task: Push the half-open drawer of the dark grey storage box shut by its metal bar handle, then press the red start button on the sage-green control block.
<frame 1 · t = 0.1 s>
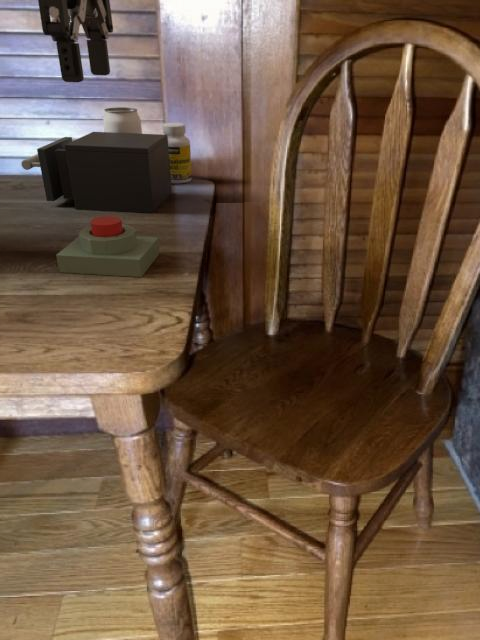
hand: (87, 78, 66), 20 cm above the table, tool pointing down, fingers open, 8 cm apart
supplement bottle: (177, 181, 107), on the table
can: (128, 180, 106), on the table
start button: (106, 227, 68), point 4 cm above the table, slide at 0.1 cm
drawer: (78, 169, 92), point 5 cm above the table, slide at 3.5 cm
dark grey storage box: (125, 201, 94), on the table
control block: (111, 262, 71), on the table
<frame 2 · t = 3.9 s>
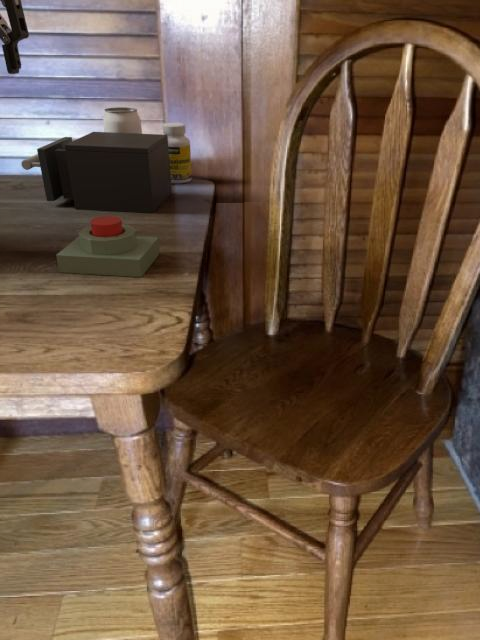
nothing on the table moved.
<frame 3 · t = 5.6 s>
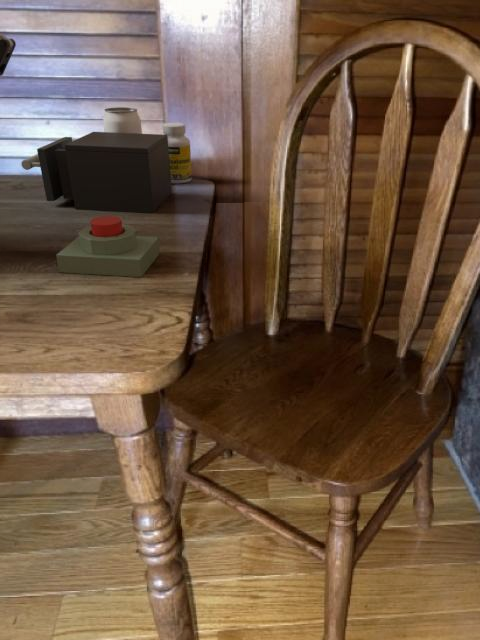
nothing on the table moved.
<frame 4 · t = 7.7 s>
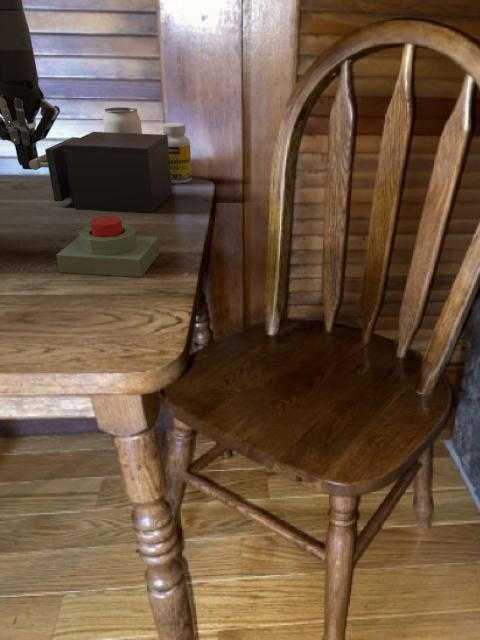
hand: (29, 168, 93), 5 cm above the table, tool pointing down, fingers closed
drawer: (85, 169, 92), point 5 cm above the table, slide at 2.2 cm, touching gripper
everything else where it was.
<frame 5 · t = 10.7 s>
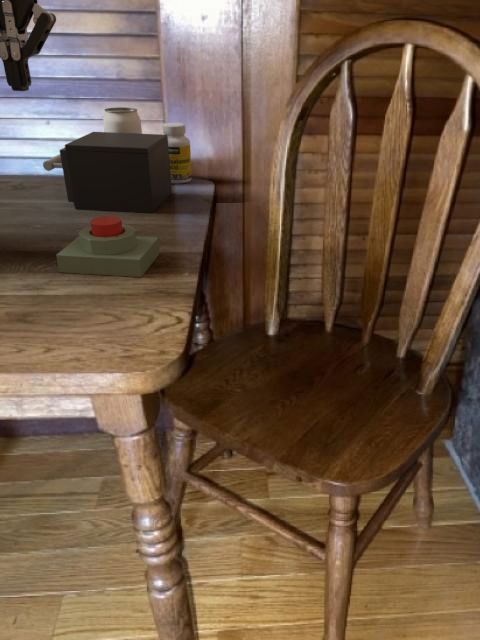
hand: (20, 90, 80), 17 cm above the table, tool pointing down, fingers closed
drawer: (99, 170, 92), point 5 cm above the table, slide at 0.0 cm
everything else where it was.
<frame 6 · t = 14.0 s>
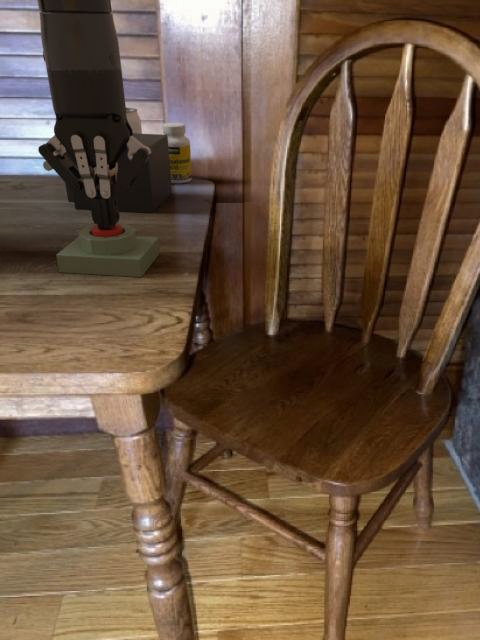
hand: (107, 227, 68), 5 cm above the table, tool pointing down, fingers closed
start button: (107, 234, 69), point 4 cm above the table, slide at -0.7 cm, touching gripper
everything else where it was.
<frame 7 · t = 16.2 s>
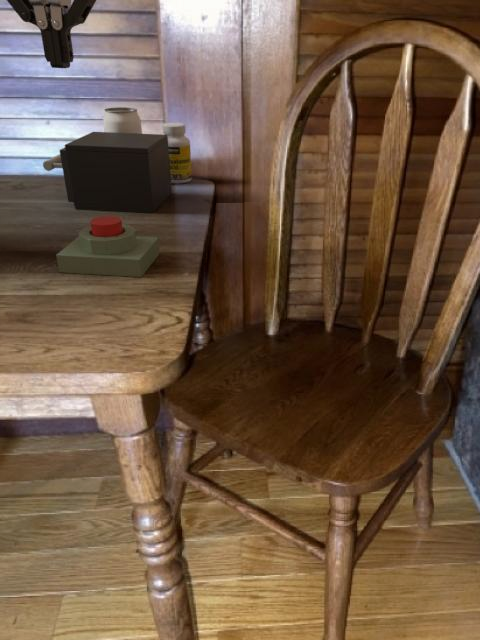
hand: (60, 67, 66), 21 cm above the table, tool pointing down, fingers closed
start button: (106, 227, 68), point 4 cm above the table, slide at 0.1 cm
everything else where it was.
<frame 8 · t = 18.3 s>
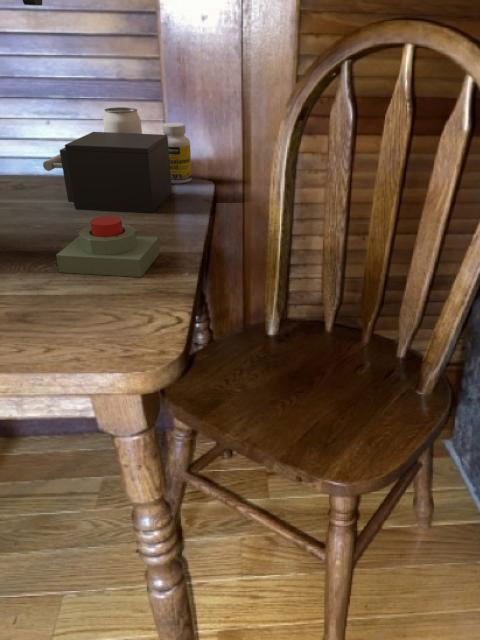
hand: (33, 4, 69), 27 cm above the table, tool pointing down, fingers closed
nothing on the table moved.
at the end: drawer slide at 0.0 cm; start button pushed in 0.9 cm at the most during the clip, back to where it started at the end; start button slide at 0.1 cm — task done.
